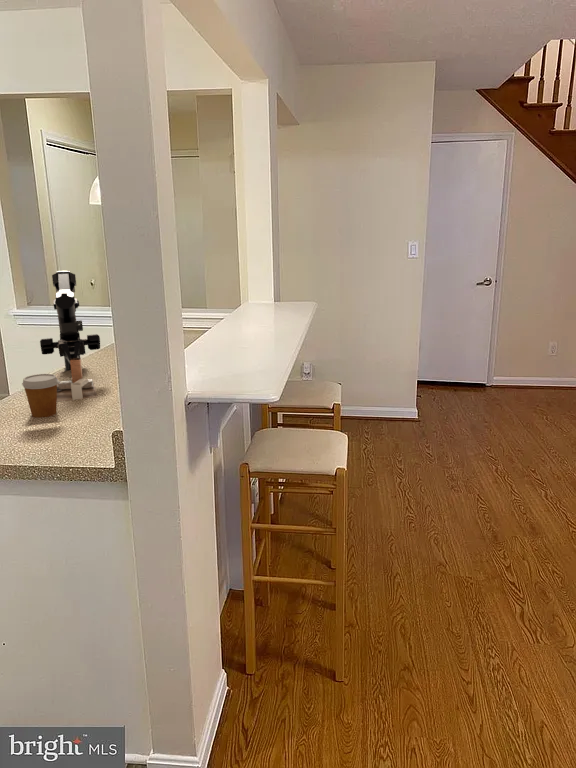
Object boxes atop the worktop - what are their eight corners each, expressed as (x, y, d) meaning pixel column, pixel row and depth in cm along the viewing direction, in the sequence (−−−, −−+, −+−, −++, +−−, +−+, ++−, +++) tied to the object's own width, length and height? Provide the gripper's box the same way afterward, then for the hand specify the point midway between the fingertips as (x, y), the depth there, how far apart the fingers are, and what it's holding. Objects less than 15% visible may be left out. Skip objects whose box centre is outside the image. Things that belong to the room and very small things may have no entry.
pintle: (44, 388, 191) (43, 377, 190) (64, 386, 193) (62, 376, 192) (44, 393, 185) (43, 382, 184) (64, 391, 188) (63, 380, 187)
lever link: (48, 387, 191) (44, 359, 188) (93, 384, 194) (90, 356, 191) (46, 390, 187) (42, 362, 184) (92, 387, 190) (89, 359, 187)
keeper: (71, 393, 186) (70, 379, 185) (89, 391, 188) (87, 377, 186) (72, 399, 179) (71, 385, 177) (90, 397, 181) (89, 384, 179)
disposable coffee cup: (54, 423, 161) (49, 382, 158) (20, 423, 162) (15, 382, 158) (67, 412, 171) (63, 373, 167) (35, 412, 171) (30, 373, 168)
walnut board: (46, 386, 198) (46, 383, 197) (92, 382, 203) (92, 378, 203) (46, 406, 176) (46, 402, 176) (98, 400, 182) (97, 397, 181)
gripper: (36, 314, 187) (41, 355, 180) (96, 310, 194) (103, 349, 187) (39, 334, 196) (44, 373, 190) (96, 329, 203) (103, 367, 196)
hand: (73, 365), depth 190 cm, fingers closed
